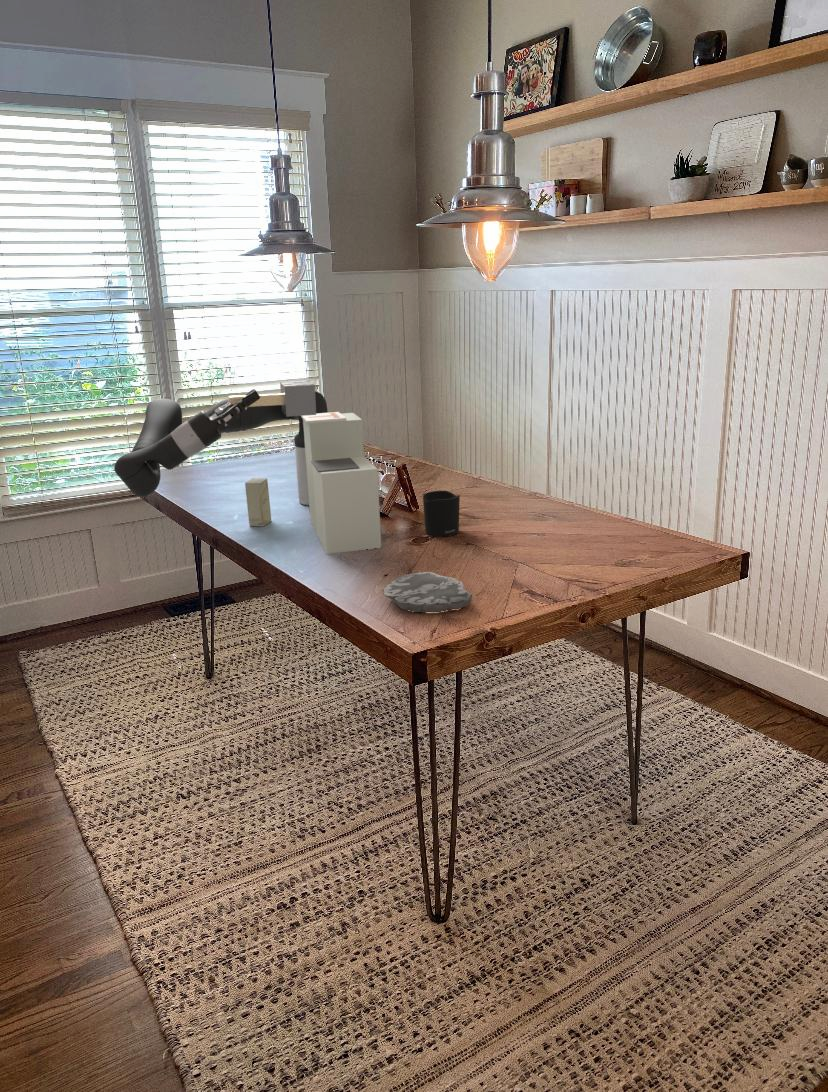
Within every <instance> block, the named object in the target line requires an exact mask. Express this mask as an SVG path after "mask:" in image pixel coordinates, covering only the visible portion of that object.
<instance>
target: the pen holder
mask: <svg viewBox="0 0 828 1092" xmlns="http://www.w3.org/2000/svg"><path fill="white" fill-rule="evenodd" d="M460 497H461V496H460V494H458V495H455V494H454V493H452V492H450V491H448V490H434V491H433V490H432V491H429V492H425V493H423V495H422V501H423V502H422V504H423V517H424V518H423V519H424V530H425V533H426V535H428V534H429V535H428V536H430V535H432V536H431V537H435V536H447V537H450V536H449V535H452V536H454V535H453V534H455V535H456V533H457V532H458V533H459V531H460V530H459V528H460ZM458 533H457V534H458Z"/></svg>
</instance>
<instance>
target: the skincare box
mask: <svg viewBox="0 0 828 1092" xmlns="http://www.w3.org/2000/svg"><path fill="white" fill-rule="evenodd" d="M244 486H245V495H246V497H245V498H246V507H247V514H248V524H249V526H250V527H265V526H266V525H267V524H269V523H270V522H271V521H272V514H271V512H272V510H271V502H270V501H271V500H270V491H269V483H268V478H266V477H265V478H263V477H262V478H259V477H257V478H256V477H255V478H251V479H250V480H248V481H246V482H245V483H244Z"/></svg>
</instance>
